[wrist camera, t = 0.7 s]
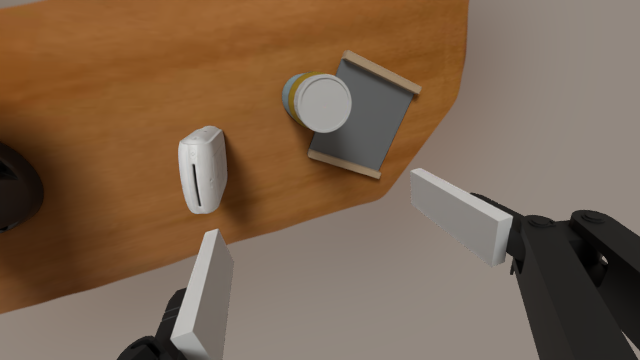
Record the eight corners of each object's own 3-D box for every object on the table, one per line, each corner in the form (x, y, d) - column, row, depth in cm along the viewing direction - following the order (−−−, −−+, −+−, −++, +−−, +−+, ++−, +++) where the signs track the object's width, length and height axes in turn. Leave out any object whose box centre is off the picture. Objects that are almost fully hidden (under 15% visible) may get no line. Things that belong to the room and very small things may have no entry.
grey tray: (306, 154, 43) (308, 157, 41) (344, 51, 38) (348, 49, 36) (374, 175, 48) (378, 178, 46) (415, 87, 43) (422, 87, 41)
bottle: (296, 126, 41) (315, 148, 27) (272, 90, 38) (280, 94, 24) (330, 104, 41) (365, 114, 27) (309, 65, 38) (336, 55, 24)
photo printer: (195, 124, 37) (167, 142, 26) (224, 125, 38) (210, 142, 27) (203, 184, 41) (182, 223, 30) (229, 183, 42) (218, 220, 31)
